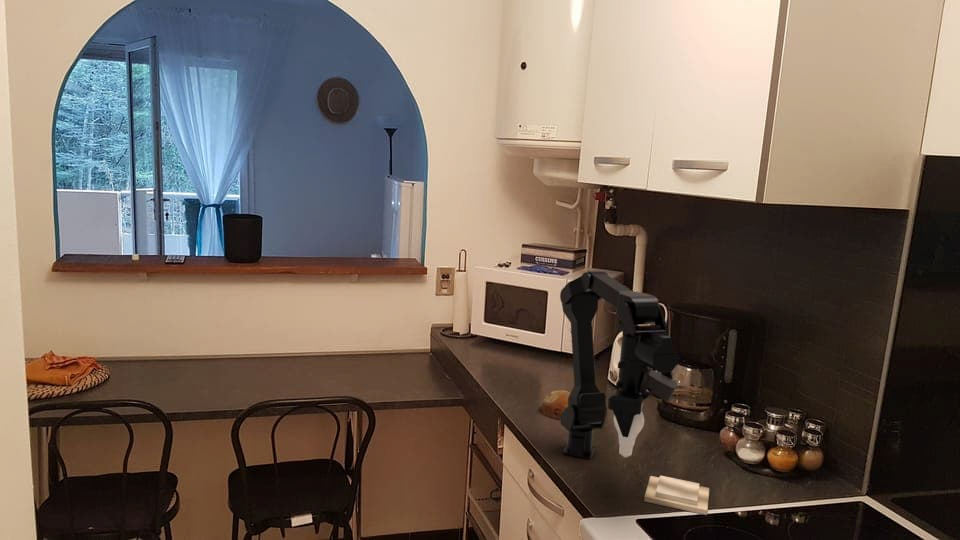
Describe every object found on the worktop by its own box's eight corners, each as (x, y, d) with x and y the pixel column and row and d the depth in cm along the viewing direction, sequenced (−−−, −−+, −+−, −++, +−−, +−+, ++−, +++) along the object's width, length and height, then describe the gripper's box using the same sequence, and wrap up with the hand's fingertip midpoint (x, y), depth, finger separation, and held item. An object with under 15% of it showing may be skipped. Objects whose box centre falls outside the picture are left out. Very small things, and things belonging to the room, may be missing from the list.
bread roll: (571, 420, 186) (567, 391, 188) (588, 418, 176) (584, 387, 178) (538, 423, 182) (534, 393, 184) (553, 420, 173) (550, 389, 175)
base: (650, 480, 145) (650, 471, 144) (708, 492, 141) (709, 483, 140) (644, 501, 135) (645, 491, 135) (706, 515, 131) (707, 505, 131)
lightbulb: (636, 451, 141) (641, 401, 139) (643, 464, 135) (649, 411, 133) (607, 449, 141) (612, 399, 139) (613, 462, 135) (618, 410, 133)
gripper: (671, 377, 123) (663, 457, 126) (680, 352, 140) (673, 423, 143) (610, 367, 127) (603, 445, 129) (626, 344, 144) (620, 413, 147)
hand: (627, 431), depth 137 cm, fingers closed on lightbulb, 6 cm apart
